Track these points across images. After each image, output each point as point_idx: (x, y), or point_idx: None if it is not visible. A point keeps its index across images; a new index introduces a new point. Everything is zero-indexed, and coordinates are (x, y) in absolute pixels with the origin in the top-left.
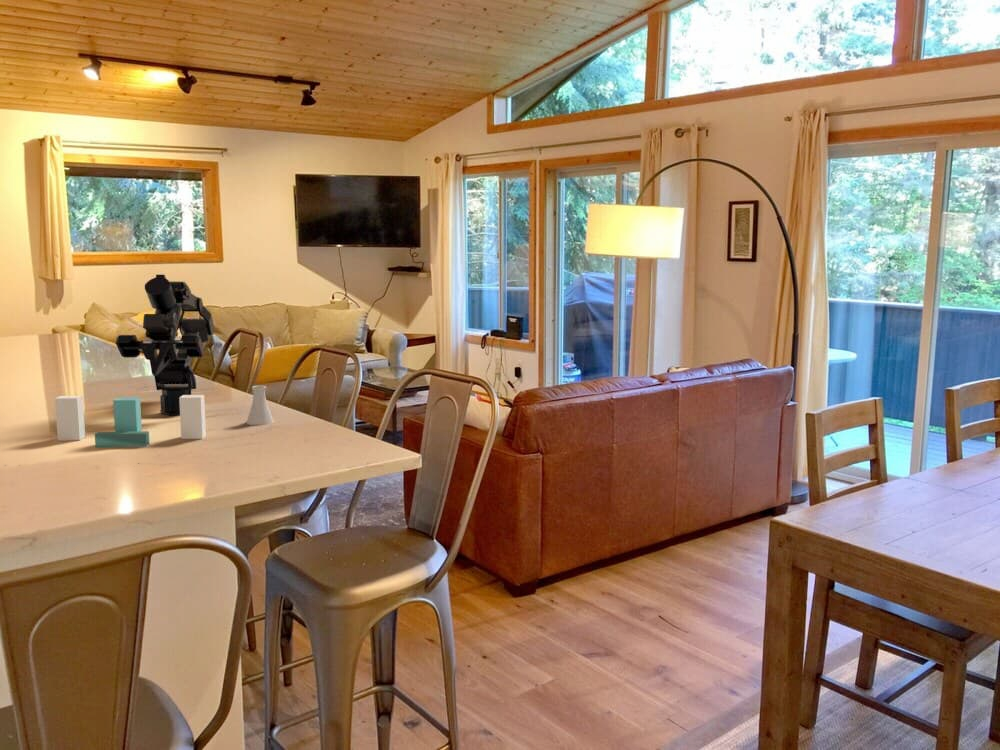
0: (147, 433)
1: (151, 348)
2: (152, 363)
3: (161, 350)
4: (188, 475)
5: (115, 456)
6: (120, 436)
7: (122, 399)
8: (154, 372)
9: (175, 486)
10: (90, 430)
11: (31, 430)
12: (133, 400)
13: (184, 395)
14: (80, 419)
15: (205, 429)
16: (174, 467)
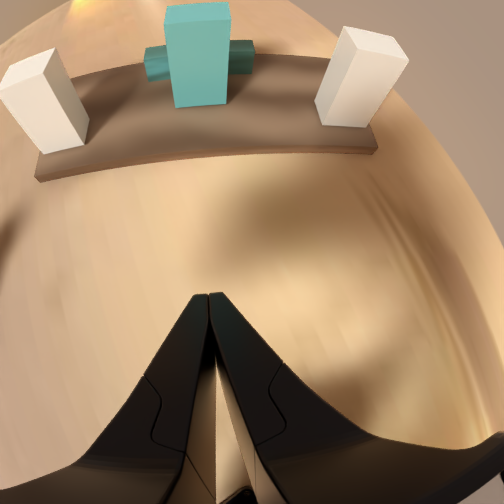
0: (145, 55)
1: (324, 480)
2: (239, 342)
3: (131, 479)
4: (82, 25)
5: None
6: None
7: (206, 7)
8: (202, 294)
9: (95, 5)
10: (390, 272)
11: (485, 262)
12: (172, 6)
13: (40, 70)
14: (330, 76)
15: (37, 144)
16: (98, 38)
